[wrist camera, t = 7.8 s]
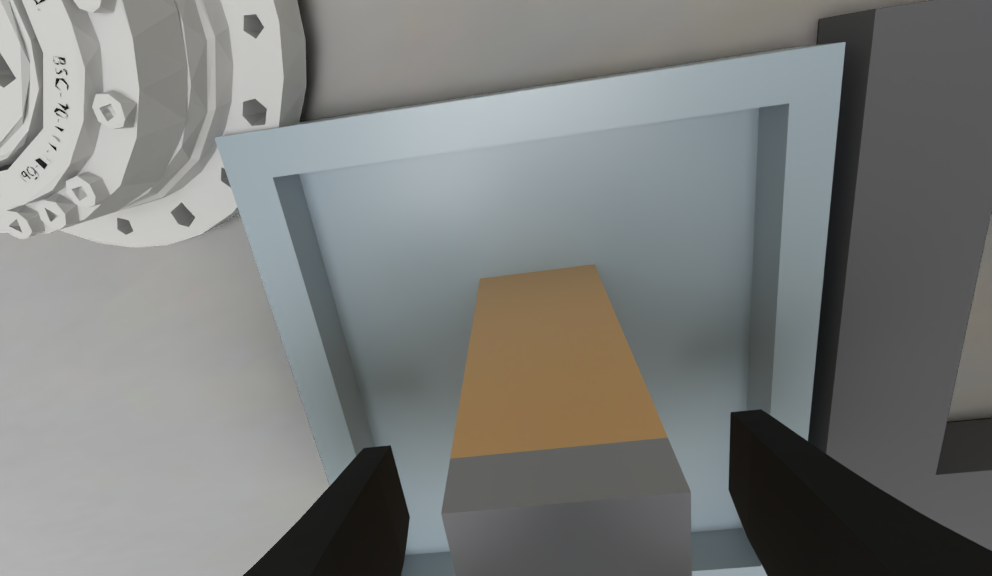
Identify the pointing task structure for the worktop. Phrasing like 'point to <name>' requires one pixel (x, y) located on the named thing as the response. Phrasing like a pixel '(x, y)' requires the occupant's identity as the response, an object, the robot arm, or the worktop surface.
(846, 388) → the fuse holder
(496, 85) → the worktop surface
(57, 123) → the mechanical component
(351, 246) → the parts tray
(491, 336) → the orange two-tone block
